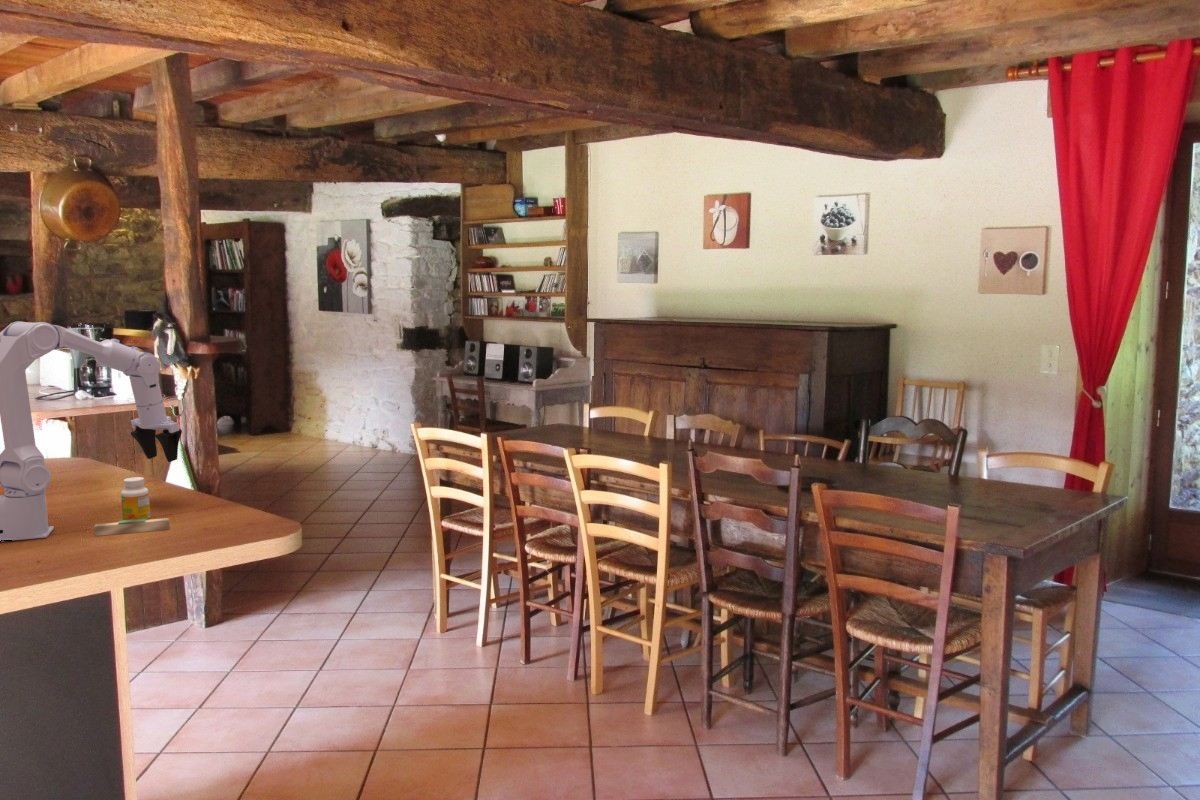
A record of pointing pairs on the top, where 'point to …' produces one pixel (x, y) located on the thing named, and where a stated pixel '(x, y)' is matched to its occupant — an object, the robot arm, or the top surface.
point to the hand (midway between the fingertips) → (162, 459)
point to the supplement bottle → (135, 499)
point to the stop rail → (131, 526)
